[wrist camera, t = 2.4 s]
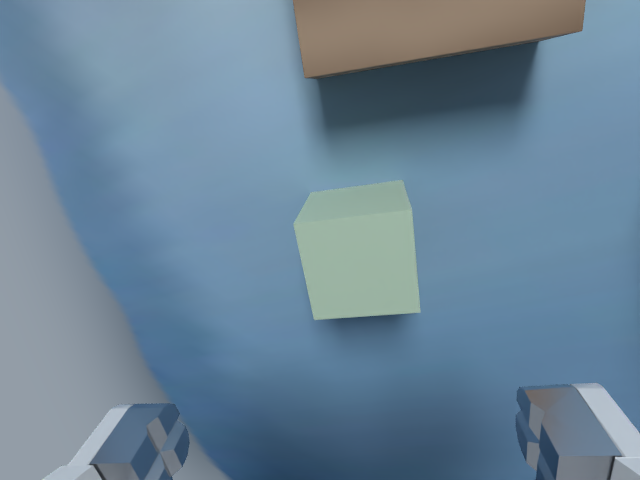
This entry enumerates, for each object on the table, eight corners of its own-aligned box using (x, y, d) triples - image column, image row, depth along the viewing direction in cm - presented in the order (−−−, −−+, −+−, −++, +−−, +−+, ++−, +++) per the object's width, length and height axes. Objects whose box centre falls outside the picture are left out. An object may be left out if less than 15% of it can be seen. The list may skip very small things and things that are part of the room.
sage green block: (409, 263, 21) (420, 312, 17) (326, 271, 22) (314, 319, 18) (402, 179, 19) (411, 209, 15) (311, 192, 20) (293, 223, 16)
